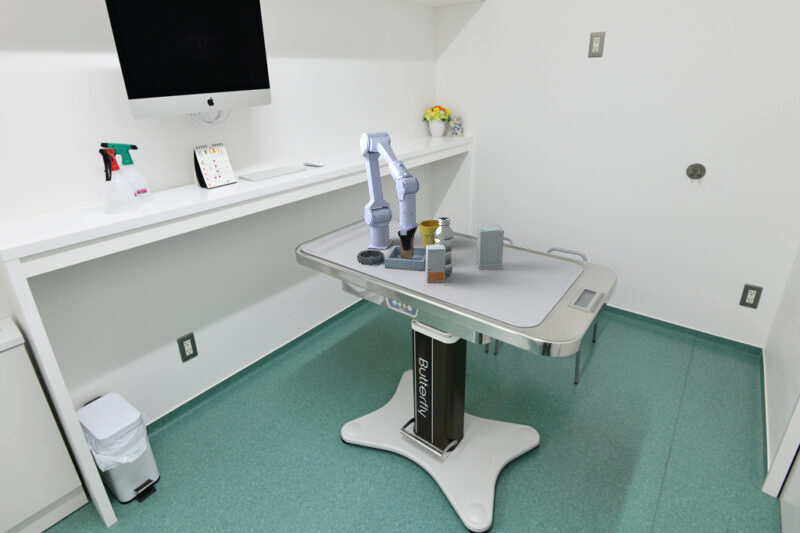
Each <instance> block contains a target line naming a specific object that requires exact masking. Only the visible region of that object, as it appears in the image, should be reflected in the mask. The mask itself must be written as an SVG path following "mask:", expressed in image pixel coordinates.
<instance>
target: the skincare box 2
mask: <svg viewBox="0 0 800 533" xmlns="http://www.w3.org/2000/svg"><path fill="white" fill-rule="evenodd" d="M504 233H505V230H504V228H503V227H502V226H501V225H500V224H492V225H491V224H490V225H477V233H476V234H477V235H476V236H477V237H476V265H477V267H478V268H477V269H478V270H479V271H485V270H486V271H487V270H488V271H489V270H502V269H503V255H504V254H503V251H504Z"/></svg>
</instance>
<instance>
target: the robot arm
mask: <svg viewBox="0 0 800 533" xmlns="http://www.w3.org/2000/svg"><path fill="white" fill-rule="evenodd" d="M359 146H360V153H361V156H362V157H364V162H365V171H366V176H367V177H366V179H367V186H368V194H369V201H368V203H367V204H366V205H365V206H364V216H363V217H364V221H365V224H367V225H368V226H369V244H368V246H366V248H367V249H373V250H378V249H379V250H387V249H388V248H389V246H390V245H391V244H392V242H393V240H391V239H390V238H391V237H390V226H389V225H390V222H391V221H392V219H393V212H392V209H391V206H390V202H388V201H386V200H385V199H384V195H383V187H382V179H381V170H380V161H379V158H380V156H381V157H382V158H383V160H384V161H385V162H386V163H387V165H388V170H387V171H388V172H389V174H390V176H391V177H392V179H393V181H394V182H395V190H396V193H397V198H398V200H399V201H398V202H399V224H398V226H399V229H400V230H398V231H397V236H398V237H399V239H401V242H402V246H403V250H405V251H409V250H410V246H411V240H412V237H413V235H414V236H415V235H416V232H417V229H418V228H419V223H420V222H418V223H417V222H416V220H417V213H416V212H417V208H416V207H417V204H416V203H417V198H416V197H417V193H418V192H419V190H420V181H419V179H418V177H417V176H415V175H413V174H411V173H410V172H409V170H408V169H407V166H405V164H404V163H403V161H402V160H398V158H397V155H396V154H395V152H394V150H393V149H392V146H391V137H390V135H389V134H388V132H387V131H380V132H365V133H363V132H362V134H361V136H360V139H359Z"/></svg>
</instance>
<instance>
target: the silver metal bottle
mask: <svg viewBox="0 0 800 533" xmlns="http://www.w3.org/2000/svg"><path fill="white" fill-rule="evenodd" d="M438 220H439V222H438V224H439V226H438V228H437V229H436V230H435V233H434V240H435V244H437V245H444V246H445V248H446V256H445V277H449V276H451V274H452V273H453V262H452V249H453V242H454V237H455V233H454V230H453V229H452V228H451V226H450V225H451V218H450V217H445V216H444V217H443V216H441V217H439V218H438Z"/></svg>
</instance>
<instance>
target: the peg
mask: <svg viewBox="0 0 800 533" xmlns="http://www.w3.org/2000/svg"><path fill="white" fill-rule="evenodd" d="M414 238H415V235H413V237H412V240H411V246H410V250H409V251H405V250H403V246H402V242H401V239H400V238H399V239H400V240H399V241H400V242H399V244H400V245H399V246H400V252H401V259H412V257H413V256H414V247H415V246H414Z"/></svg>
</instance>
